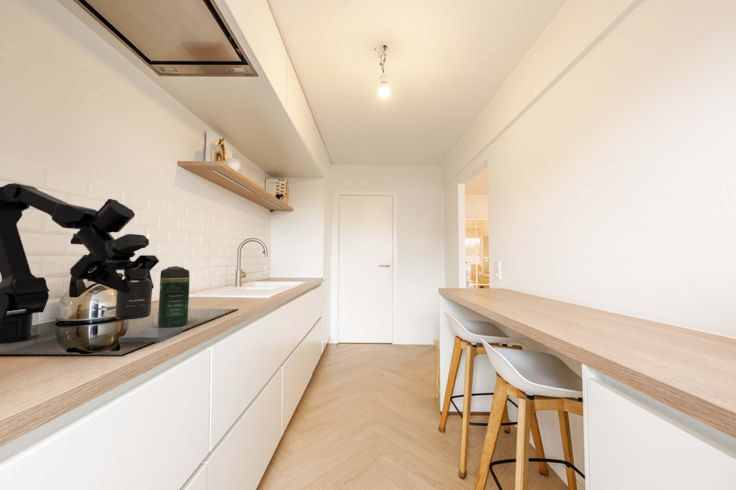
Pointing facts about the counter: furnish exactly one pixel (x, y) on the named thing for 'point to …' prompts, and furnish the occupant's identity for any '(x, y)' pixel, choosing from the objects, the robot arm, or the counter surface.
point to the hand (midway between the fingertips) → (140, 290)
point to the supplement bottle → (134, 295)
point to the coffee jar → (173, 297)
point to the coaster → (150, 335)
